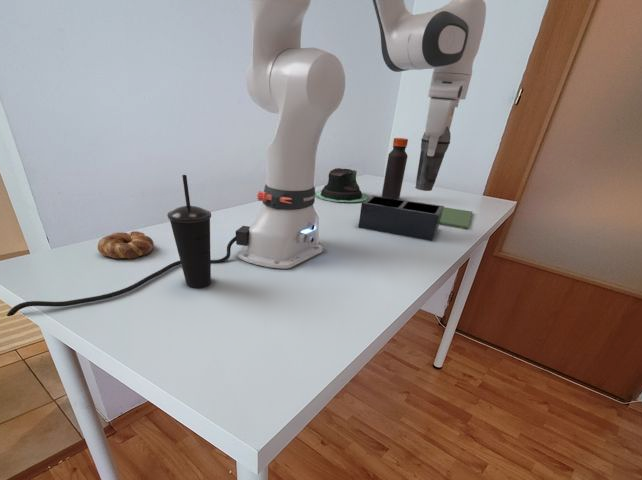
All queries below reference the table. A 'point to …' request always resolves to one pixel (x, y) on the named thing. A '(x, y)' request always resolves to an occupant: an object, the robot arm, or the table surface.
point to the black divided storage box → (400, 217)
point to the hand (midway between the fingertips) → (432, 154)
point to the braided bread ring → (125, 245)
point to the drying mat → (455, 218)
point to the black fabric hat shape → (342, 187)
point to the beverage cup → (431, 161)
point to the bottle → (395, 169)
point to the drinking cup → (192, 241)
